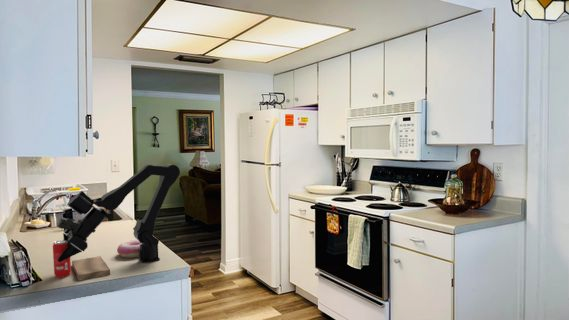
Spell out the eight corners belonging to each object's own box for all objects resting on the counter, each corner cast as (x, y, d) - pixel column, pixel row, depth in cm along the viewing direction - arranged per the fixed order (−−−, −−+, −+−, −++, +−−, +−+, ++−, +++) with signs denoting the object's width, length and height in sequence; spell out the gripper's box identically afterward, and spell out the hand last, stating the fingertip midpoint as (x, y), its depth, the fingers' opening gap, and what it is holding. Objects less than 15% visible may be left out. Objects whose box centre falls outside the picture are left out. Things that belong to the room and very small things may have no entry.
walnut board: (100, 260, 159) (100, 256, 159) (110, 274, 142) (110, 269, 142) (72, 265, 154) (71, 260, 154) (78, 280, 137) (78, 275, 137)
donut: (127, 261, 158) (126, 249, 157) (111, 255, 166) (110, 243, 166) (158, 253, 168) (157, 241, 168) (141, 248, 177) (140, 237, 176)
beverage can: (51, 278, 140) (49, 243, 139) (61, 272, 145) (59, 240, 145) (64, 278, 139) (62, 244, 139) (74, 273, 144) (72, 240, 144)
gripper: (69, 205, 151) (36, 239, 145) (74, 212, 135) (38, 250, 130) (93, 223, 156) (62, 256, 150) (101, 232, 140) (67, 269, 135)
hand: (57, 258), depth 141 cm, fingers open, 9 cm apart
